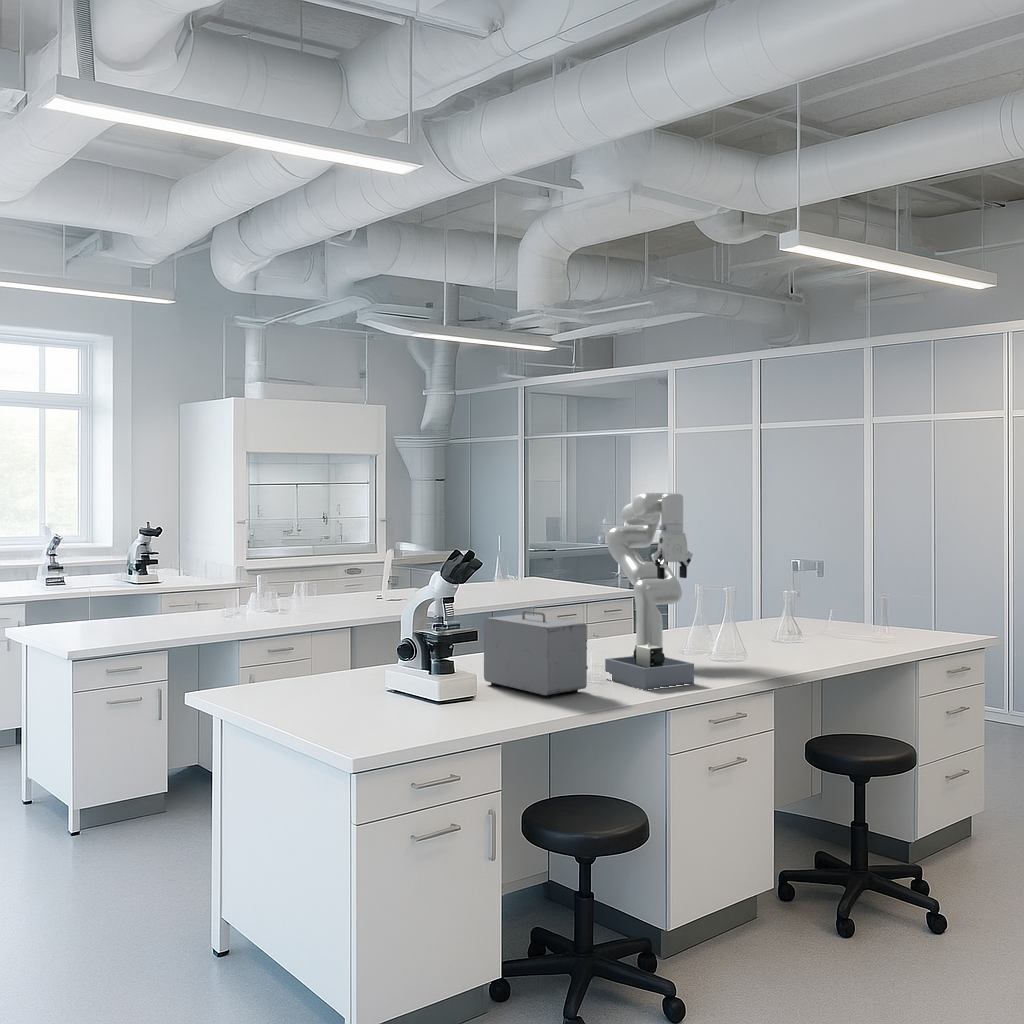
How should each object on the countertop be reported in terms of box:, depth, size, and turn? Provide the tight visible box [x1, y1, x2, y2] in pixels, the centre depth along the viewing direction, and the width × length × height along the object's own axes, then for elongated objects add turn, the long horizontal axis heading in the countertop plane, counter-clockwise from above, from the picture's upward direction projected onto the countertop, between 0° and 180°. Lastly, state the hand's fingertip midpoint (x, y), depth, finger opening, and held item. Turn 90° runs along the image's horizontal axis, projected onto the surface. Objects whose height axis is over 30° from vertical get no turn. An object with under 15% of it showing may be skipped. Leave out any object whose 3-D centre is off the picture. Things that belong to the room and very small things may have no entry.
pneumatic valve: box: [632, 643, 666, 668], centre depth 325 cm, size 6×12×12 cm, turn 28°
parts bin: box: [604, 655, 695, 691], centre depth 325 cm, size 22×20×7 cm
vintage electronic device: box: [483, 609, 589, 699], centre depth 314 cm, size 32×18×25 cm, turn 39°
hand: (672, 578), depth 339 cm, fingers open, 9 cm apart
